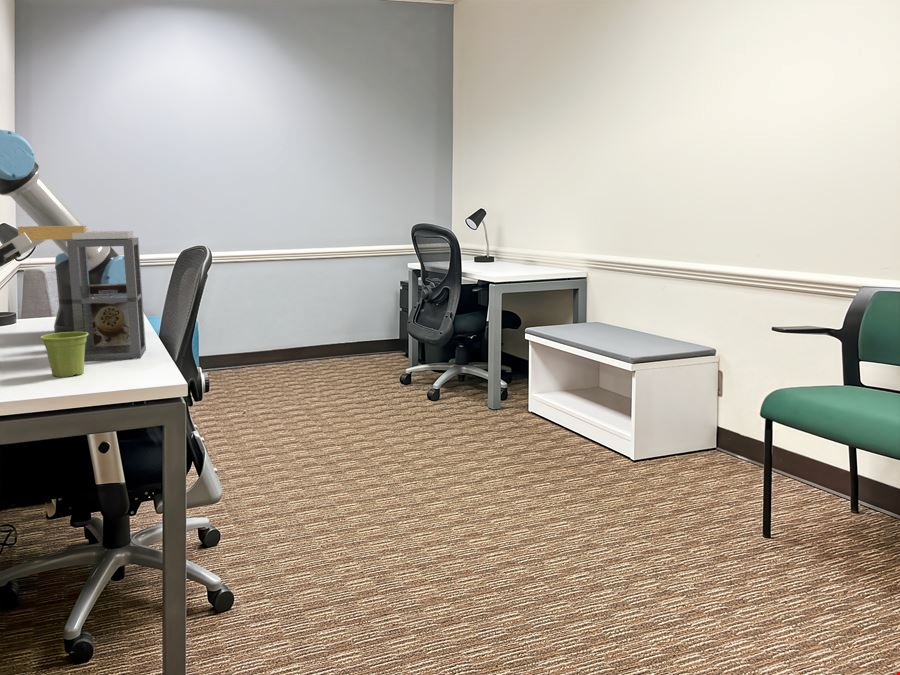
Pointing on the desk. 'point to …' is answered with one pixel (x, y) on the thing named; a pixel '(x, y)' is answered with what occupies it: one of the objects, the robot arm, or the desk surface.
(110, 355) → the rack
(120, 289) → the coffee box
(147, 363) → the desk surface
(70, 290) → the robot arm
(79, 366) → the plant pot
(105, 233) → the blanking panel
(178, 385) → the desk surface
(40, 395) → the desk surface
